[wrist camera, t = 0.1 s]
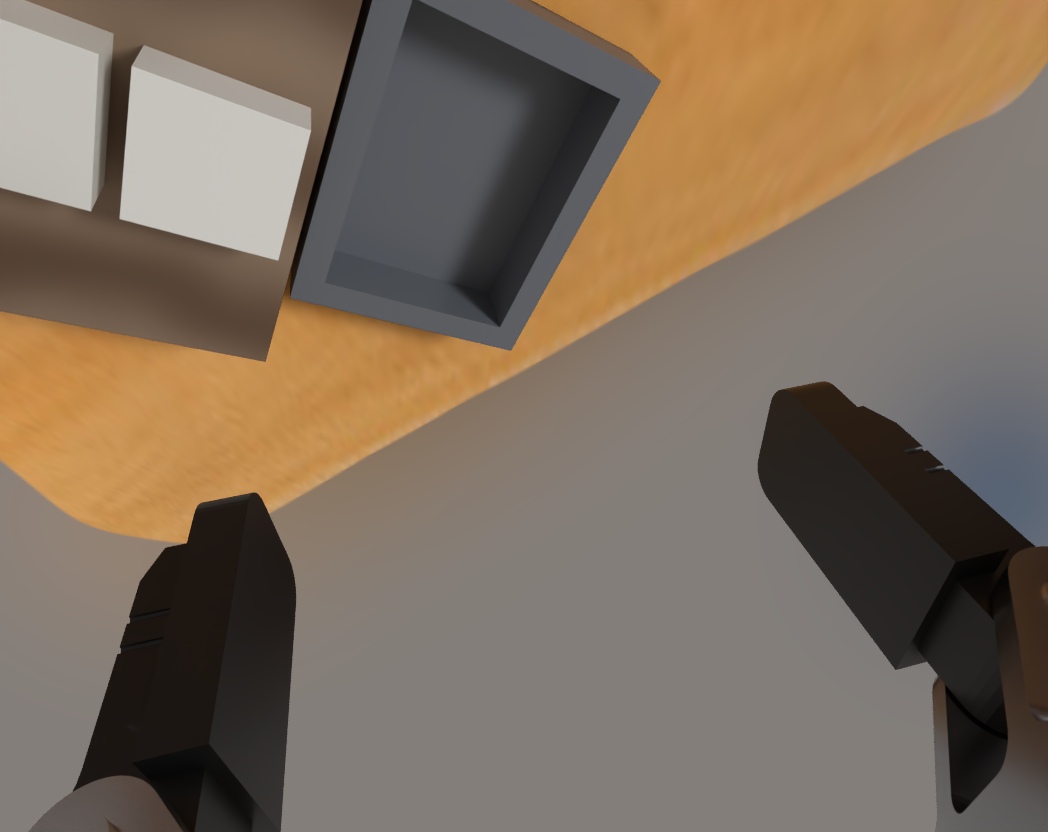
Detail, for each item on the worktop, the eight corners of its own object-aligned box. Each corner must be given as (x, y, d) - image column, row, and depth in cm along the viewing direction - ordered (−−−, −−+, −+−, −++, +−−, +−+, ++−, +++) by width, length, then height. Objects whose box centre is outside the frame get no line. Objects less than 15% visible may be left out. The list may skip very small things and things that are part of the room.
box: (381, -81, 22) (389, -62, 20) (630, 53, 27) (660, 81, 25) (291, 255, 30) (289, 298, 28) (497, 311, 35) (510, 350, 33)
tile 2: (144, 44, 20) (131, 66, 18) (310, 107, 22) (311, 130, 21) (130, 191, 22) (119, 219, 21) (280, 233, 25) (278, 260, 23)
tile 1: (-107, -50, 17) (-144, -34, 16) (114, 33, 19) (98, 54, 18) (-86, 130, 20) (-115, 157, 18) (104, 183, 22) (90, 211, 21)
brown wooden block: (-89, -384, 16) (-182, -419, 13) (378, -121, 22) (389, -101, 18) (-38, 233, 26) (-83, 295, 23) (269, 304, 32) (265, 361, 29)
